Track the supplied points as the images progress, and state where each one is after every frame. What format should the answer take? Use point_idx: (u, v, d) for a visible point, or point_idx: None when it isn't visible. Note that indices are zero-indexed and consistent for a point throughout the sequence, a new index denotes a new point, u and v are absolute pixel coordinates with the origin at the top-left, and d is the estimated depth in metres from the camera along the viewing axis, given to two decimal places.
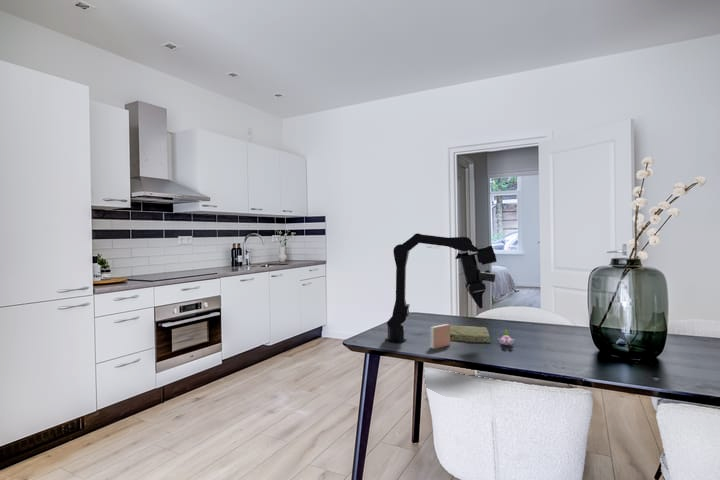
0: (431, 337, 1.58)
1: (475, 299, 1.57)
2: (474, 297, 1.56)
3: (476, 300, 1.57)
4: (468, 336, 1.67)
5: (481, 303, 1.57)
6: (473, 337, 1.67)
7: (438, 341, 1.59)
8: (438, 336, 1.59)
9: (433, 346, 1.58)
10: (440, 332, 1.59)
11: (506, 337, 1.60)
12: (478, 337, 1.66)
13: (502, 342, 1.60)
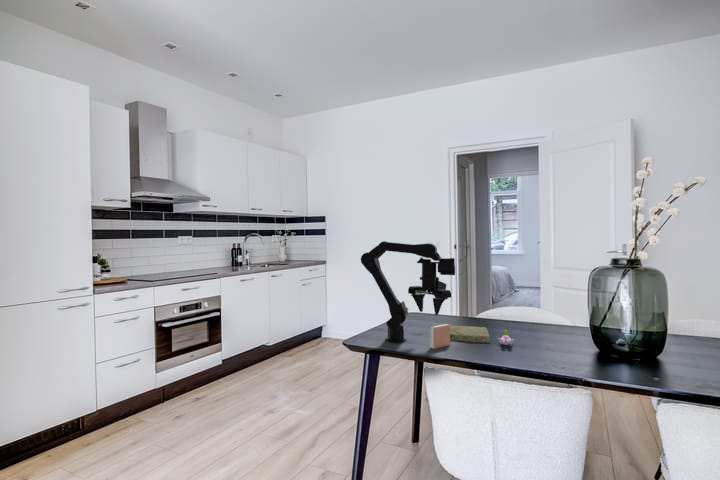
0: (431, 337, 1.58)
1: (436, 305, 1.60)
2: (437, 303, 1.60)
3: (437, 306, 1.61)
4: (468, 336, 1.67)
5: (439, 310, 1.62)
6: (473, 337, 1.67)
7: (438, 341, 1.59)
8: (438, 336, 1.59)
9: (433, 346, 1.58)
10: (440, 332, 1.59)
11: (505, 337, 1.60)
12: (478, 337, 1.66)
13: (502, 342, 1.61)
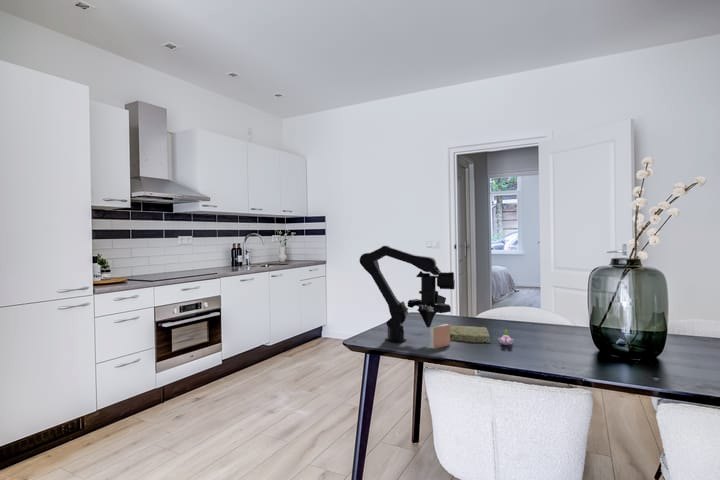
0: (431, 337, 1.58)
1: (428, 318, 1.64)
2: (428, 316, 1.63)
3: (429, 319, 1.64)
4: (468, 336, 1.67)
5: (430, 322, 1.65)
6: (473, 337, 1.67)
7: (438, 341, 1.59)
8: (438, 336, 1.59)
9: (433, 346, 1.58)
10: (440, 332, 1.59)
11: (505, 337, 1.60)
12: (478, 337, 1.66)
13: (501, 342, 1.61)
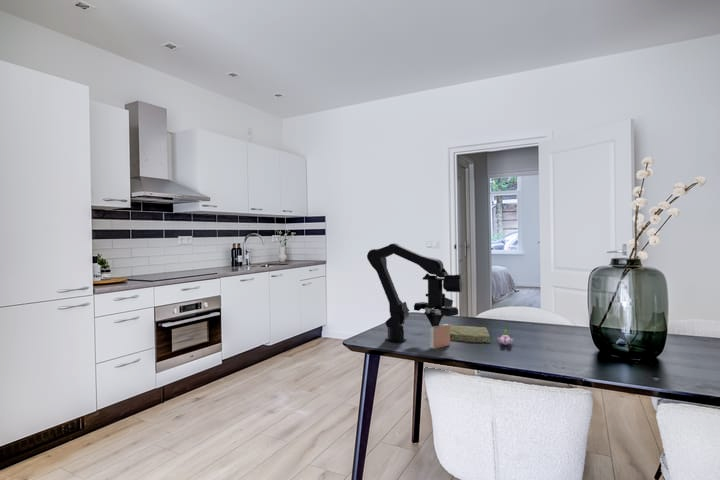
0: (431, 337, 1.58)
1: (435, 321, 1.61)
2: (436, 319, 1.60)
3: (436, 322, 1.61)
4: (468, 336, 1.67)
5: None
6: (473, 337, 1.67)
7: (438, 341, 1.59)
8: (438, 336, 1.59)
9: (433, 346, 1.58)
10: (440, 332, 1.59)
11: (505, 337, 1.61)
12: (478, 337, 1.66)
13: (501, 341, 1.61)
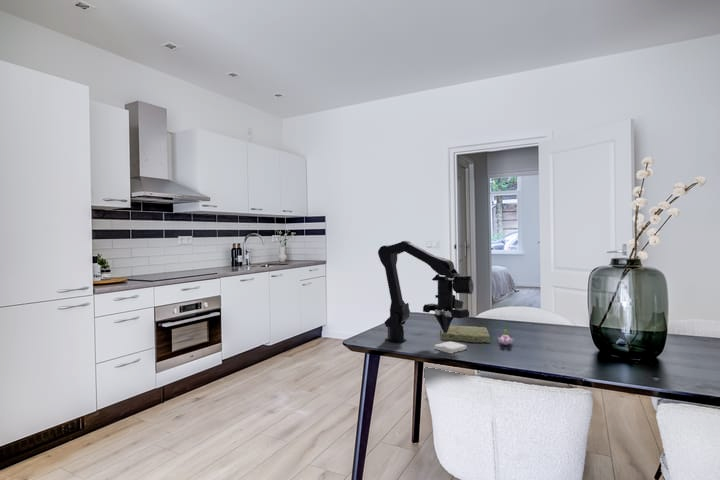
0: (442, 348, 1.54)
1: (446, 323, 1.57)
2: (446, 321, 1.56)
3: (446, 324, 1.57)
4: (468, 336, 1.67)
5: (448, 328, 1.58)
6: (473, 337, 1.67)
7: None
8: None
9: None
10: None
11: (505, 336, 1.61)
12: (478, 337, 1.66)
13: (501, 341, 1.61)
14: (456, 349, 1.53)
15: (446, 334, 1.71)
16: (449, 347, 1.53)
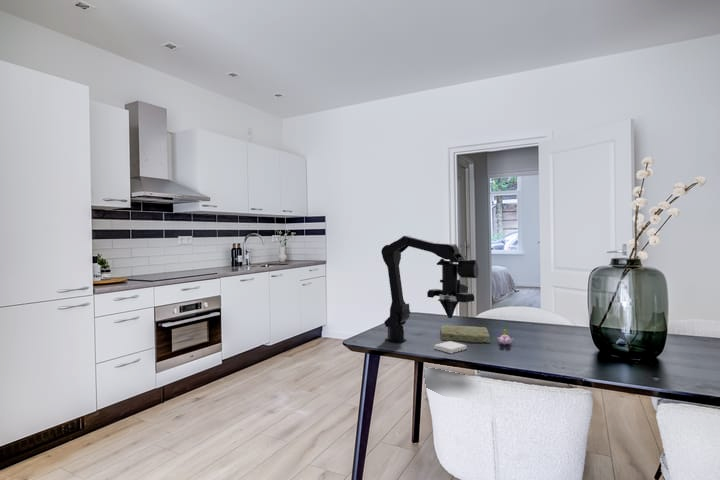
0: (442, 348, 1.54)
1: (450, 308, 1.55)
2: (450, 306, 1.54)
3: (451, 309, 1.55)
4: (468, 336, 1.67)
5: (452, 313, 1.56)
6: (473, 337, 1.67)
7: None
8: None
9: None
10: None
11: (504, 336, 1.61)
12: (478, 337, 1.66)
13: (500, 341, 1.62)
14: (456, 349, 1.53)
15: (446, 334, 1.71)
16: (449, 347, 1.53)
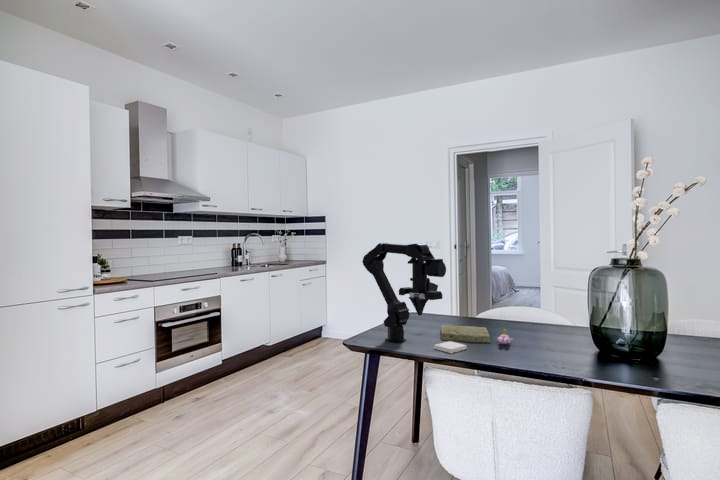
0: (442, 348, 1.54)
1: (420, 306, 1.59)
2: (420, 304, 1.59)
3: (420, 307, 1.59)
4: (468, 336, 1.67)
5: (422, 310, 1.61)
6: (473, 337, 1.67)
7: None
8: None
9: None
10: None
11: (503, 336, 1.62)
12: (478, 337, 1.66)
13: (499, 341, 1.62)
14: (456, 349, 1.53)
15: (446, 334, 1.71)
16: (449, 347, 1.53)
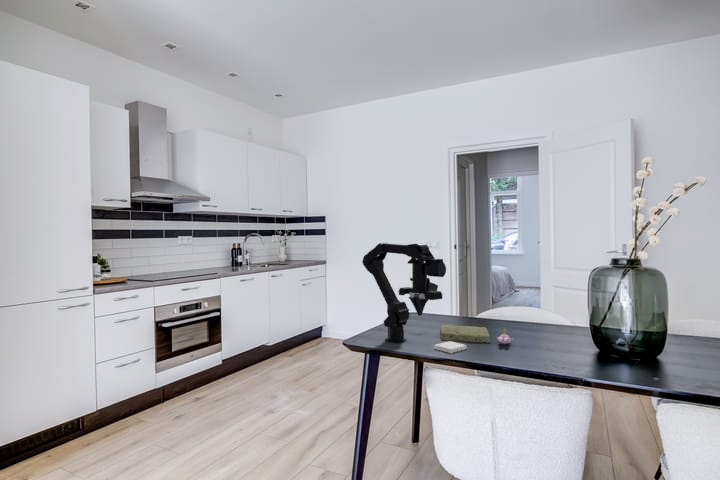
0: (442, 348, 1.54)
1: (420, 306, 1.59)
2: (420, 304, 1.59)
3: (420, 307, 1.59)
4: (468, 336, 1.67)
5: (422, 310, 1.61)
6: (473, 337, 1.67)
7: None
8: None
9: None
10: None
11: (503, 336, 1.62)
12: (478, 337, 1.66)
13: (499, 341, 1.62)
14: (456, 349, 1.53)
15: (446, 334, 1.71)
16: (449, 347, 1.53)
